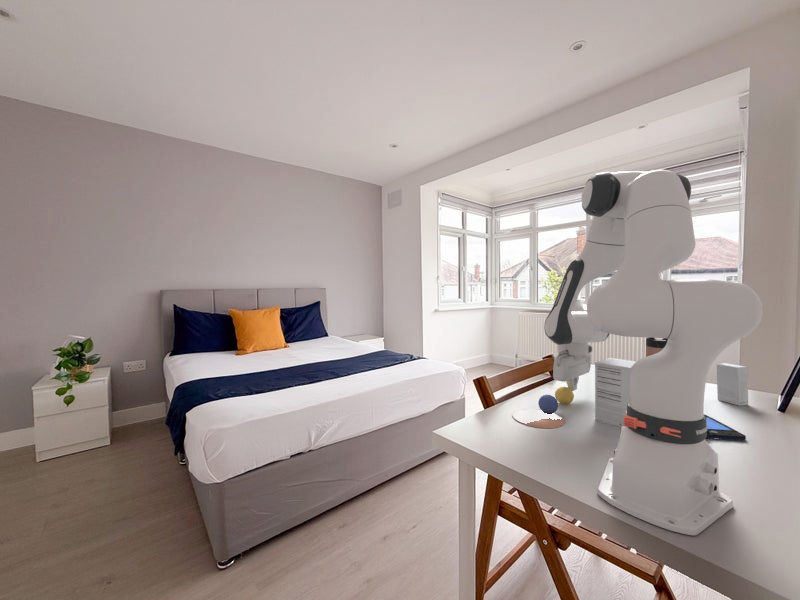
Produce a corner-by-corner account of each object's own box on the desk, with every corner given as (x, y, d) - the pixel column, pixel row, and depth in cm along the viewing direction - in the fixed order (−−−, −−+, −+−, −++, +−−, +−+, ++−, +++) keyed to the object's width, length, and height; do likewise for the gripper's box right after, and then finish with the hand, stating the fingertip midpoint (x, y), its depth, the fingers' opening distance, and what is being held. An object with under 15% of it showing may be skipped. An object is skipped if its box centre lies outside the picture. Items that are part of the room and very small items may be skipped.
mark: (549, 433, 86) (549, 432, 86) (502, 417, 97) (502, 416, 97) (573, 419, 95) (573, 418, 95) (528, 406, 106) (528, 405, 106)
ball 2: (578, 393, 107) (574, 409, 105) (562, 391, 112) (557, 405, 110) (571, 384, 105) (566, 400, 103) (554, 382, 109) (549, 397, 107)
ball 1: (563, 405, 100) (556, 420, 97) (545, 401, 104) (538, 414, 101) (558, 393, 98) (551, 407, 95) (540, 389, 102) (533, 402, 99)
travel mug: (661, 403, 106) (661, 341, 106) (639, 395, 114) (639, 338, 113) (680, 401, 108) (681, 340, 107) (657, 393, 115) (658, 337, 115)
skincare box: (749, 405, 104) (749, 366, 103) (738, 406, 103) (738, 367, 102) (725, 398, 110) (726, 362, 109) (715, 399, 109) (716, 363, 108)
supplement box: (608, 412, 100) (608, 356, 99) (645, 422, 92) (645, 362, 92) (594, 420, 94) (594, 361, 93) (631, 431, 87) (631, 367, 86)
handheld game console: (749, 443, 80) (750, 405, 79) (685, 439, 82) (685, 402, 82) (704, 418, 95) (704, 386, 95) (651, 415, 98) (651, 384, 97)
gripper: (567, 353, 101) (568, 398, 101) (594, 346, 114) (594, 386, 114) (547, 351, 105) (547, 394, 106) (575, 344, 118) (575, 383, 119)
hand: (572, 390), depth 110 cm, fingers closed
